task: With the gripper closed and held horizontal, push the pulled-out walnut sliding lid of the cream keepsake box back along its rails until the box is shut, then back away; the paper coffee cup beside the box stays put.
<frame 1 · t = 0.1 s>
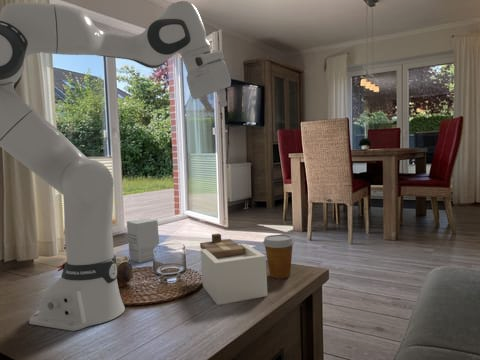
hand: (216, 108, 112), 52 cm above the table, tool tilted 20°, fingers open, 8 cm apart
keepsake box: (233, 290, 109), on the table
disposable coffee cup: (280, 275, 120), on the table
lid: (221, 244, 117), point 11 cm above the table, slide at 9.0 cm
supplement box: (144, 259, 149), on the table
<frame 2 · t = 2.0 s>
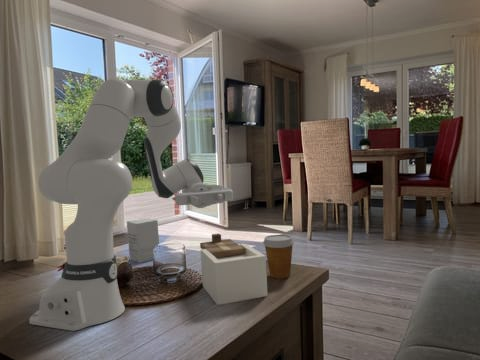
hand: (209, 199, 127), 24 cm above the table, tool horizontal, fingers open, 6 cm apart
nothing on the table moved.
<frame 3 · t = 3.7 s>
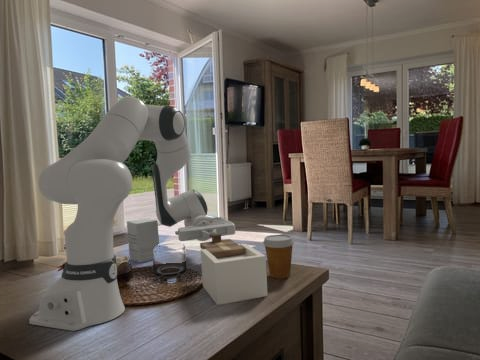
hand: (212, 235, 128), 12 cm above the table, tool horizontal, fingers closed
nothing on the table moved.
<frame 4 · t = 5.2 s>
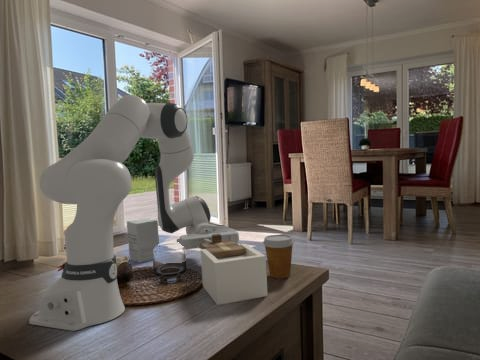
hand: (215, 244, 124), 10 cm above the table, tool horizontal, fingers closed, pressing on lid
lid: (221, 244, 117), point 11 cm above the table, slide at 8.6 cm, touching gripper
everything else where it was.
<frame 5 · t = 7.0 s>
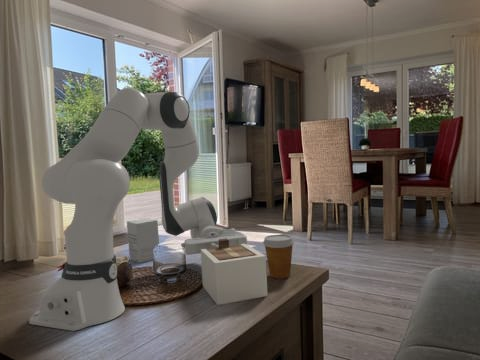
hand: (222, 248, 116), 10 cm above the table, tool horizontal, fingers closed, pressing on lid
lid: (229, 250, 110), point 11 cm above the table, slide at 0.9 cm, touching gripper
everything else where it was.
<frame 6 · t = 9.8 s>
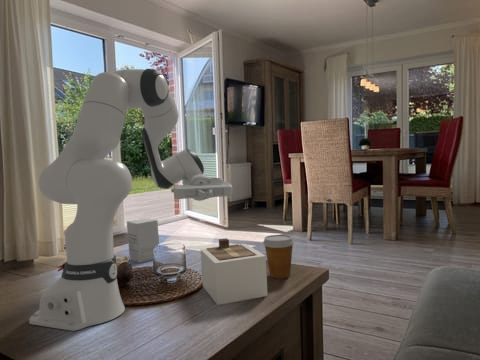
hand: (207, 195, 125), 26 cm above the table, tool horizontal, fingers closed
lid: (229, 250, 110), point 11 cm above the table, slide at 0.9 cm
everything else where it was.
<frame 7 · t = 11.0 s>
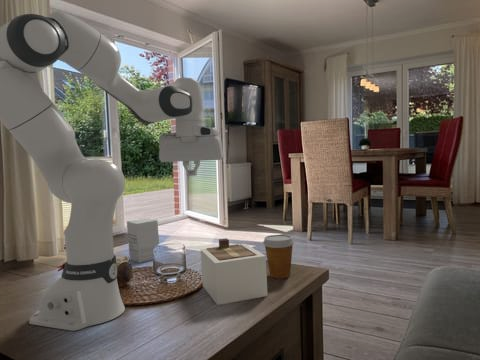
hand: (191, 175, 121), 32 cm above the table, tool pointing down, fingers closed
nothing on the table moved.
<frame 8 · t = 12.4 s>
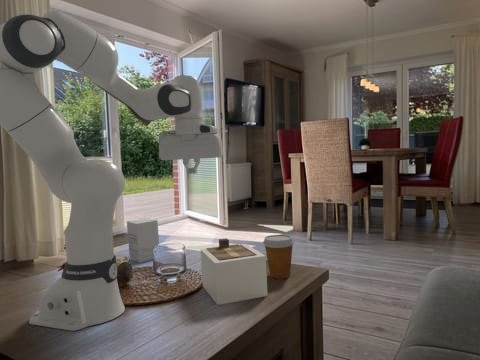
hand: (192, 173, 121), 33 cm above the table, tool pointing down, fingers closed
nothing on the table moved.
at the end: lid slide at 0.9 cm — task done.
